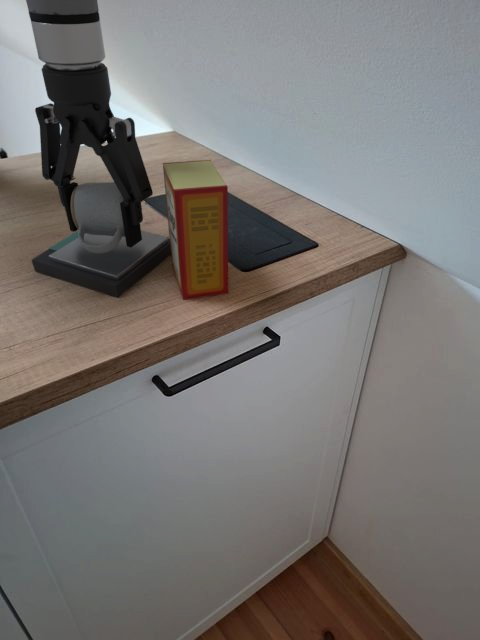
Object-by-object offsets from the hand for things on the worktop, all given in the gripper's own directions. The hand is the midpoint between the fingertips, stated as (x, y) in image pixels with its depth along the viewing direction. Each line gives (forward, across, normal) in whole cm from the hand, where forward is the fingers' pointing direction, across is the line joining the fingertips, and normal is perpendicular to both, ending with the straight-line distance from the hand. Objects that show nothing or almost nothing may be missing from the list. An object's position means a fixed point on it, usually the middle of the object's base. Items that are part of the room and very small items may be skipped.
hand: (105, 235), depth 72 cm
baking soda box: (+5, -14, -2) cm, 15 cm away
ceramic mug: (0, -1, 0) cm, 1 cm away
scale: (+4, 0, 0) cm, 5 cm away
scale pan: (+2, -1, 0) cm, 3 cm away
